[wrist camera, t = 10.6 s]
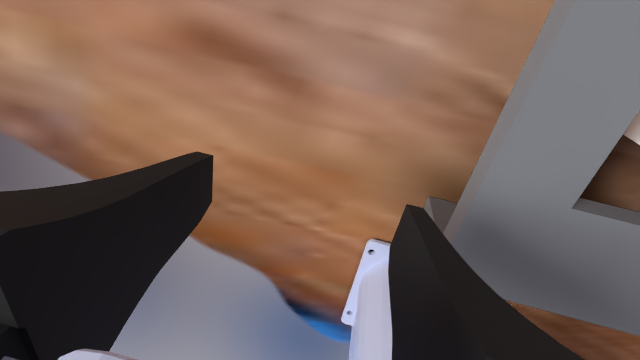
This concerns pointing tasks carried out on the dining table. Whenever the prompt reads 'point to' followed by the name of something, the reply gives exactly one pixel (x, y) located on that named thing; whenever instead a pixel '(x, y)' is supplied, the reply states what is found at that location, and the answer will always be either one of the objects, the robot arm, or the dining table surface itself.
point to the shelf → (558, 174)
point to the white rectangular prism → (634, 129)
